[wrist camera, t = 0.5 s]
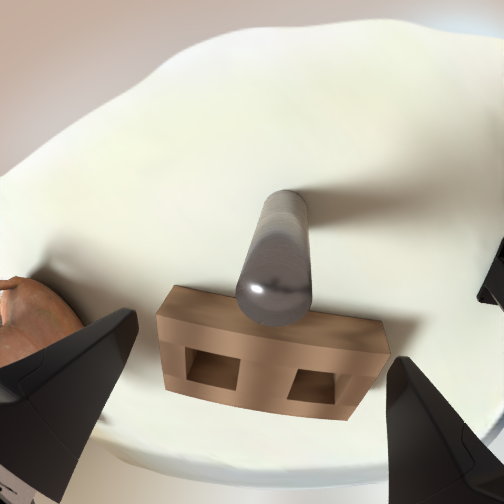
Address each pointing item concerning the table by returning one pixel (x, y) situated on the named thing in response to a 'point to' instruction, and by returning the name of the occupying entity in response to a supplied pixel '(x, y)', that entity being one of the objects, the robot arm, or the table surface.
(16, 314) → the ceramic jug
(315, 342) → the hole block
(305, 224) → the peg
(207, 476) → the table surface
